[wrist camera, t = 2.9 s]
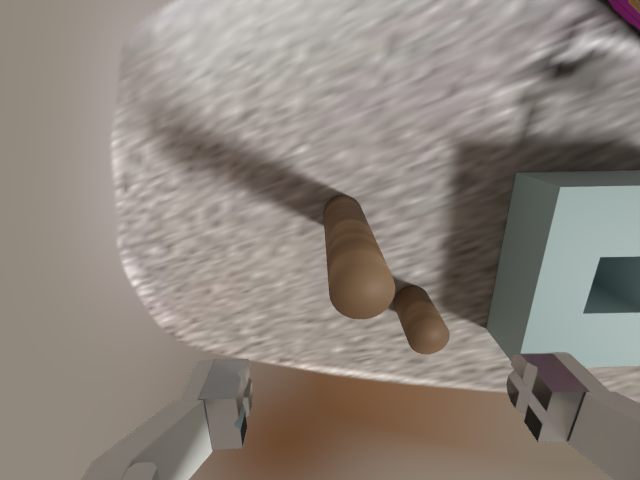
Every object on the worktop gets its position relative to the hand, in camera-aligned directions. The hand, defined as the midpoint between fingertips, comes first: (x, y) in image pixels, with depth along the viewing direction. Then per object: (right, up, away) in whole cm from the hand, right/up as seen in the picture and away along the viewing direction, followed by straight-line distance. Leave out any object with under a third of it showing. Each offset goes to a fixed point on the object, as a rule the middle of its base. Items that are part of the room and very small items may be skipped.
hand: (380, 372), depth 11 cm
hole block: (+19, +3, +18) cm, 26 cm away
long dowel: (0, +6, +16) cm, 17 cm away
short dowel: (+6, -1, +19) cm, 20 cm away
